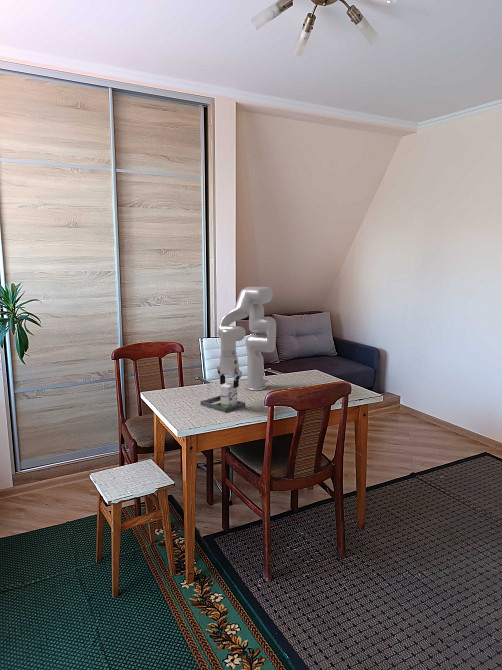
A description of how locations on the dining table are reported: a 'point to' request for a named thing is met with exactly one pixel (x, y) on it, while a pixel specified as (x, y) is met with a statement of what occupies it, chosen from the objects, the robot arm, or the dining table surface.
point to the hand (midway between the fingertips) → (229, 385)
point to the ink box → (228, 395)
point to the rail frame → (218, 406)
